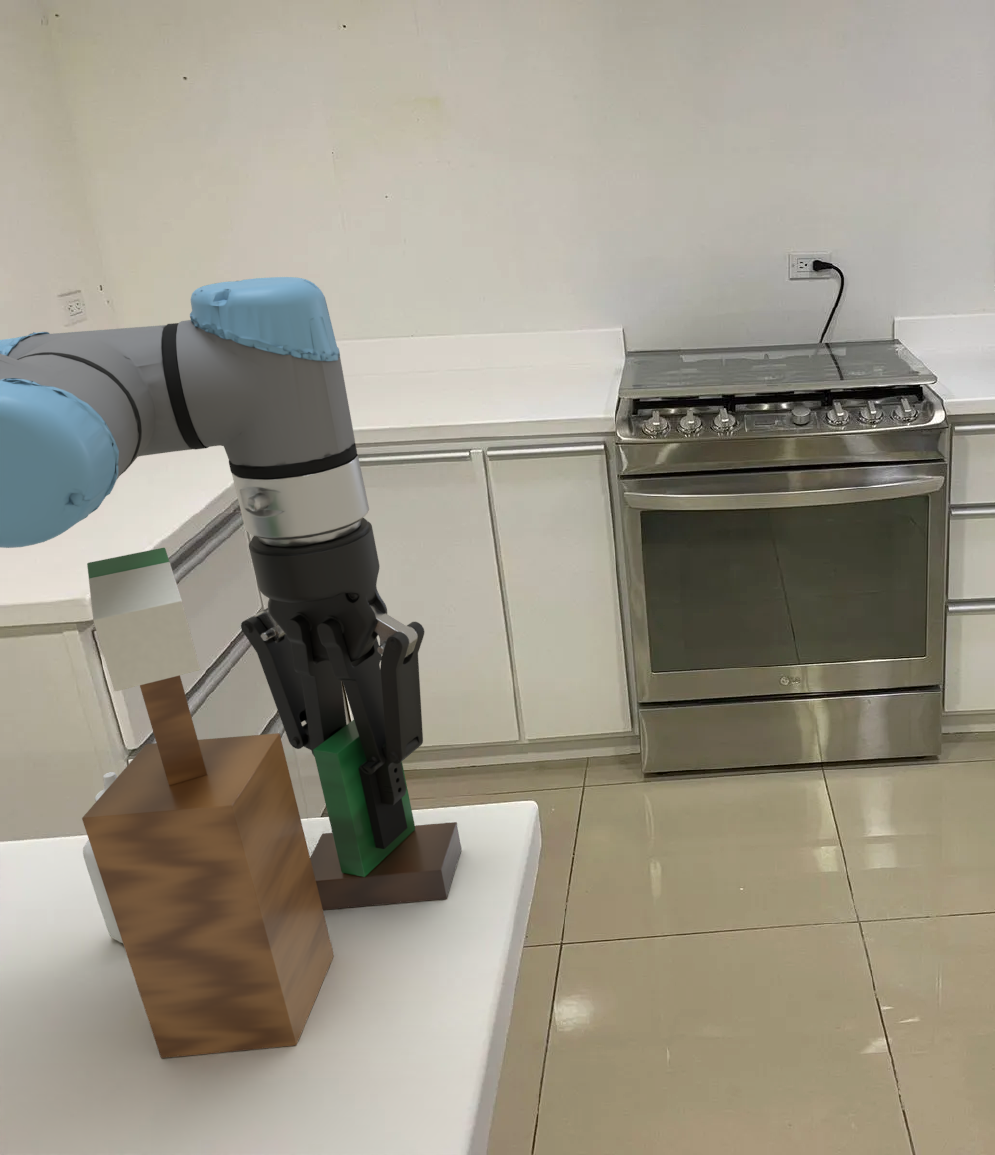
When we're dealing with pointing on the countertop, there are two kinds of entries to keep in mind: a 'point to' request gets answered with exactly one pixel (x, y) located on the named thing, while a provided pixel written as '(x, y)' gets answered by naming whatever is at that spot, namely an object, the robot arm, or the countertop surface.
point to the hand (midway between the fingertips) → (375, 834)
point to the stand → (211, 885)
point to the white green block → (140, 619)
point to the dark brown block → (391, 870)
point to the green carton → (352, 803)
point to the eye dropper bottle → (96, 876)
